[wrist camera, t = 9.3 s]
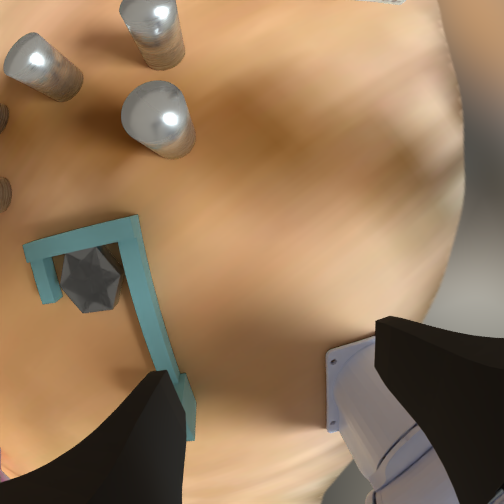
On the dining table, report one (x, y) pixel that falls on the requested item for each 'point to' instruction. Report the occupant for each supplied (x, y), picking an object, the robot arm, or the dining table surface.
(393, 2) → the supplement box
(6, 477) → the lily
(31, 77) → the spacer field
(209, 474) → the dining table surface
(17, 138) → the dining table surface
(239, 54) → the dining table surface
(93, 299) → the grey flat hexagonal block
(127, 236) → the hook tool
